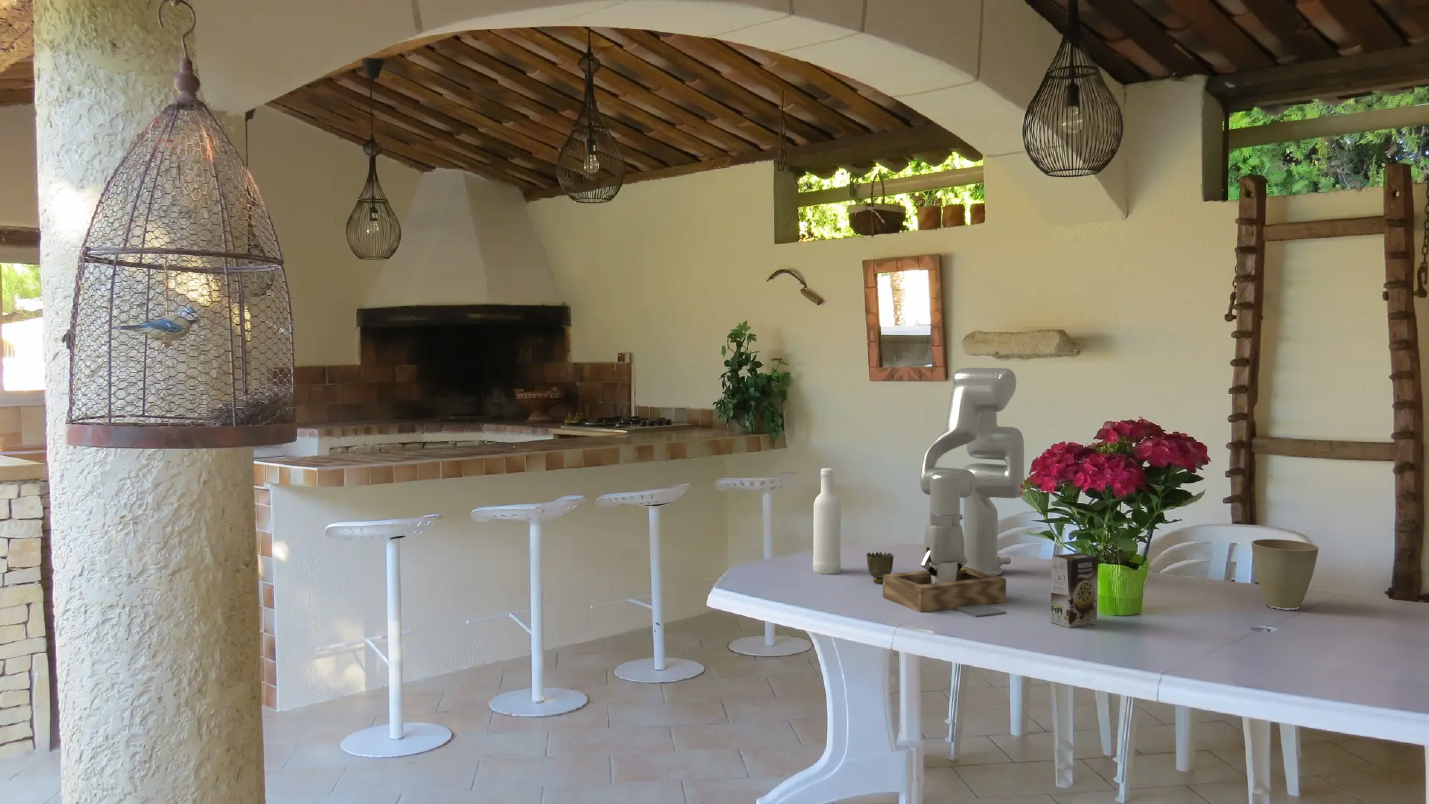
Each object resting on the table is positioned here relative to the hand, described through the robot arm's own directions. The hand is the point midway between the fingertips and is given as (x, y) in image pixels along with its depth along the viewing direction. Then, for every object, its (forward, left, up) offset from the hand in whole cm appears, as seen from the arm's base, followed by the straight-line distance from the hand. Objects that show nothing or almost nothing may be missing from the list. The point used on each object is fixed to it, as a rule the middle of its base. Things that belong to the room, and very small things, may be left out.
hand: (944, 589), depth 280 cm
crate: (0, 0, -3) cm, 2 cm away
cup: (+4, -24, -3) cm, 24 cm away
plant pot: (-73, +41, -3) cm, 84 cm away
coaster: (-1, +14, -3) cm, 14 cm away
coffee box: (-14, +32, -3) cm, 35 cm away
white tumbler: (0, 0, -3) cm, 3 cm away
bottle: (+10, -43, -3) cm, 44 cm away
